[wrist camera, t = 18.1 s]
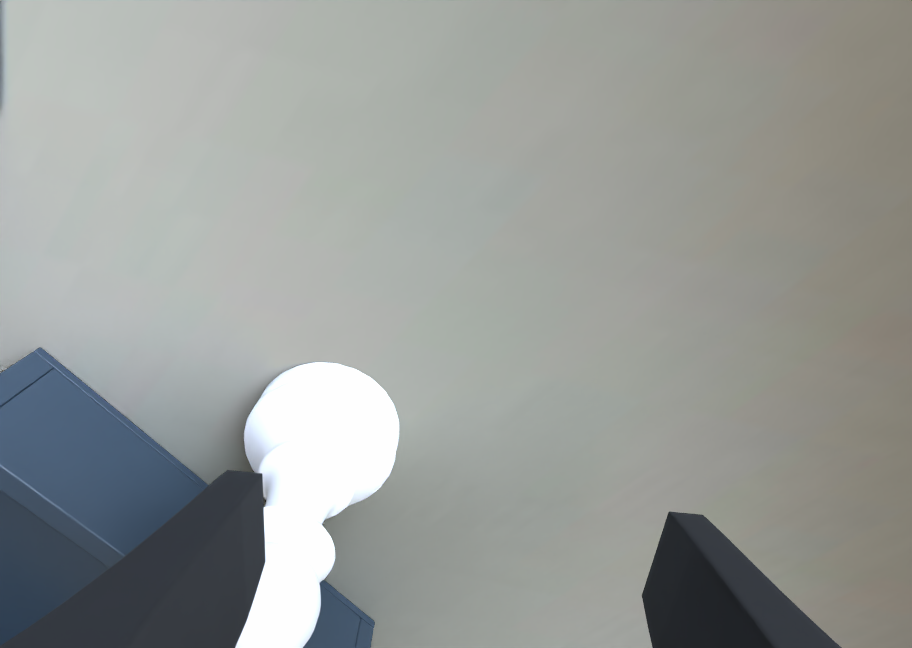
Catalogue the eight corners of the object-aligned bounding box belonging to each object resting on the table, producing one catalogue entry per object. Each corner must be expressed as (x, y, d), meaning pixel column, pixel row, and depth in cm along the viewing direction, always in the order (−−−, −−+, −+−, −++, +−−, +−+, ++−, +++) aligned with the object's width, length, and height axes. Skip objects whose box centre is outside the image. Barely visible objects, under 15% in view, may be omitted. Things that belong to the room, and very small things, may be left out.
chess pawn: (262, 347, 19) (112, 552, 11) (410, 372, 20) (370, 591, 11) (255, 467, 21) (122, 717, 13) (390, 489, 22) (343, 746, 13)
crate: (-171, 552, 23) (-299, 650, 20) (40, 346, 20) (-67, 416, 16) (155, 753, 28) (105, 864, 24) (375, 621, 25) (358, 727, 21)
